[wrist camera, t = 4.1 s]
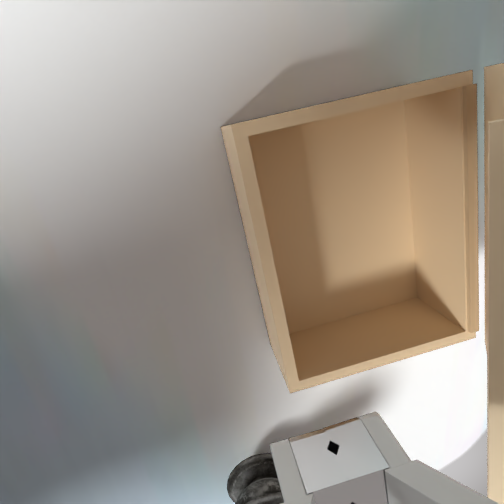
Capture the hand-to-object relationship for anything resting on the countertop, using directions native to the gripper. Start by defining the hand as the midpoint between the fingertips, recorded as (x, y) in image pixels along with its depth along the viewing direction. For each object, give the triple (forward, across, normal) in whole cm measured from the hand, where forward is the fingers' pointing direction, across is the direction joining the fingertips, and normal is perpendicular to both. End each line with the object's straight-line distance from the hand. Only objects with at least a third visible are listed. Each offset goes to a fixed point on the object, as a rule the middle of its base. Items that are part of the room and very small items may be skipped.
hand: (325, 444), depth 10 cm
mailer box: (+14, +6, +1) cm, 15 cm away
